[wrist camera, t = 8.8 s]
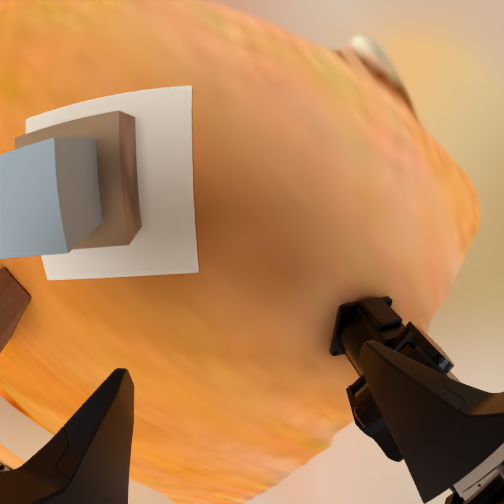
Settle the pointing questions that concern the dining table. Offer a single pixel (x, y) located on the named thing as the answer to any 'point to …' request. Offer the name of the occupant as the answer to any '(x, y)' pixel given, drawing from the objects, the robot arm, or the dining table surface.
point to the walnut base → (105, 172)
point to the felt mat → (142, 188)
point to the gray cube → (48, 197)
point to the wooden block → (10, 305)
